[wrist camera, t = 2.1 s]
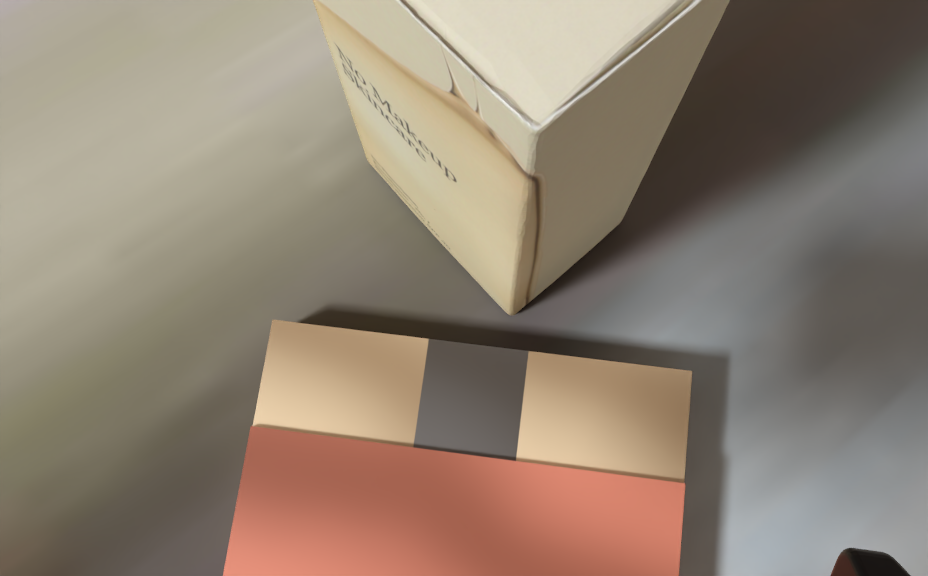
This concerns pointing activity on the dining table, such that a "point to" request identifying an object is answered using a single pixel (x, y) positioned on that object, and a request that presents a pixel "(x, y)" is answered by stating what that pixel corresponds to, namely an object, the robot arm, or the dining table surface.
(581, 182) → the skincare box
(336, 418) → the board
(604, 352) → the dining table surface
